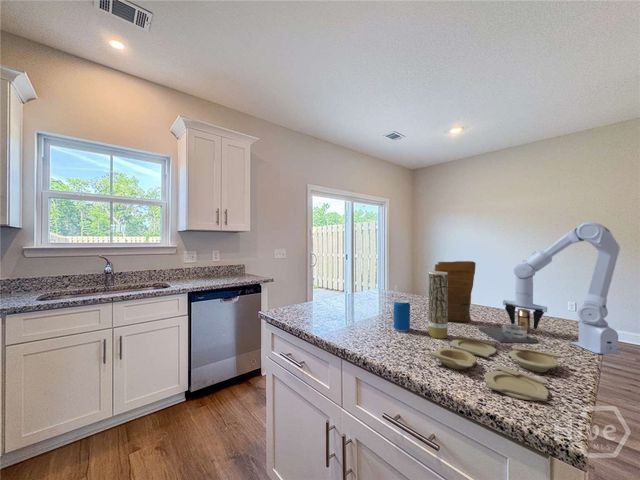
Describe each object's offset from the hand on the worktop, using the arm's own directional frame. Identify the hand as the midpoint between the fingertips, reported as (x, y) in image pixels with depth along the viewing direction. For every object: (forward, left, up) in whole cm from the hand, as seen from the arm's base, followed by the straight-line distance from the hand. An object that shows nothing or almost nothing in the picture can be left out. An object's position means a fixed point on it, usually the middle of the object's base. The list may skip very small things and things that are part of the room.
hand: (523, 325), depth 110 cm
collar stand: (-5, +11, -2) cm, 12 cm away
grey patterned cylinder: (-6, +38, -3) cm, 39 cm away
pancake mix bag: (+14, +22, -3) cm, 26 cm away
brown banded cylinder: (0, 0, -2) cm, 2 cm away
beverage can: (+1, +50, -3) cm, 50 cm away
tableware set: (-30, +32, -3) cm, 44 cm away
